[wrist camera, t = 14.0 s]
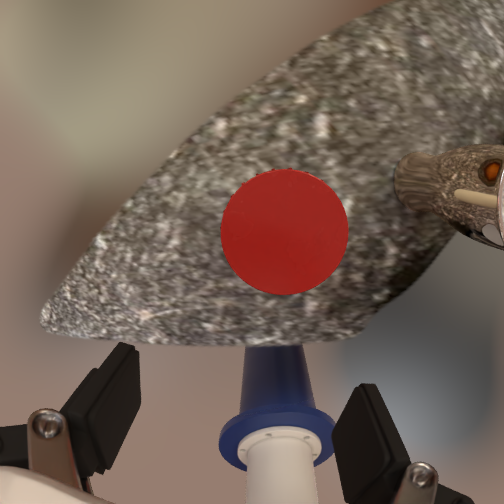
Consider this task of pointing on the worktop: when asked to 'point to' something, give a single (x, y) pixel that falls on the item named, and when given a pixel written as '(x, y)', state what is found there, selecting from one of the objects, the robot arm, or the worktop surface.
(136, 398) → the robot arm
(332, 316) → the worktop surface
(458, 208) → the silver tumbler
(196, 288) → the worktop surface
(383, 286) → the worktop surface
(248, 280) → the red lid
